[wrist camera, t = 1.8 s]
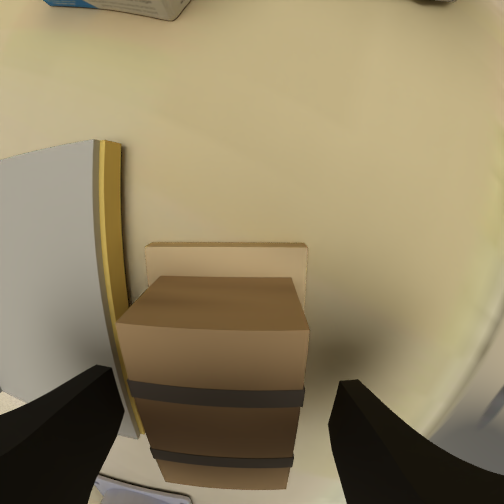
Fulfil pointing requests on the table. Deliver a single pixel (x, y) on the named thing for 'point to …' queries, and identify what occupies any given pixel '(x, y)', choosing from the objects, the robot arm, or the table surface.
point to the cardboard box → (220, 360)
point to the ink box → (131, 6)
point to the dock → (62, 270)
